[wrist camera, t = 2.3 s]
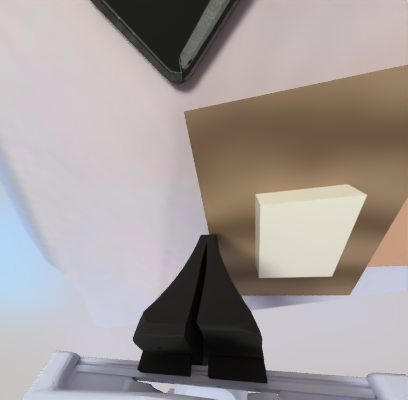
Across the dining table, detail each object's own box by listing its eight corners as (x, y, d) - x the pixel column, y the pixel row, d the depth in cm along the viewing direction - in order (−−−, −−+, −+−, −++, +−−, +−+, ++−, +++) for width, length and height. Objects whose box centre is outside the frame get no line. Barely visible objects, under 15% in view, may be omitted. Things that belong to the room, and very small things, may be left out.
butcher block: (334, 273, 18) (349, 295, 16) (221, 276, 20) (222, 295, 18) (426, 62, 8) (497, 46, 6) (190, 111, 11) (184, 111, 9)
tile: (321, 261, 14) (332, 276, 13) (255, 263, 15) (258, 277, 13) (347, 184, 10) (367, 194, 9) (255, 194, 11) (260, 205, 10)
